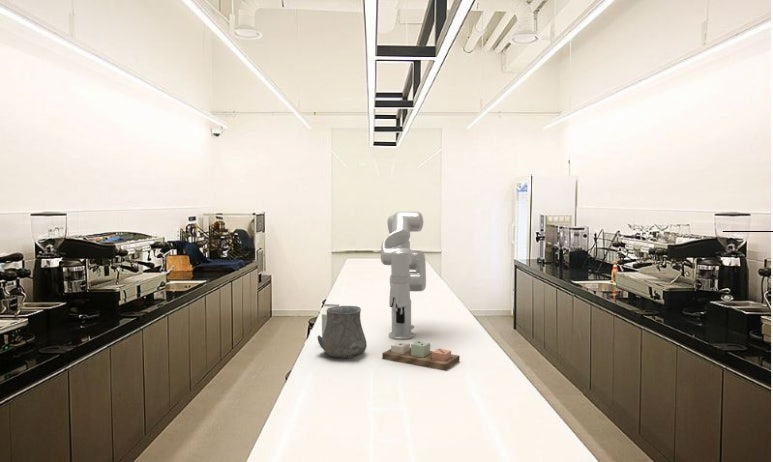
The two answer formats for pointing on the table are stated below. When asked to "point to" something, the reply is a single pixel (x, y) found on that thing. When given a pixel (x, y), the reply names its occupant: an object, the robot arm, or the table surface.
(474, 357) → the table surface
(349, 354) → the vessel
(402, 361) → the tray
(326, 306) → the milk carton
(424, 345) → the tile two pip
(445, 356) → the tile three pip
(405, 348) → the tile one pip
